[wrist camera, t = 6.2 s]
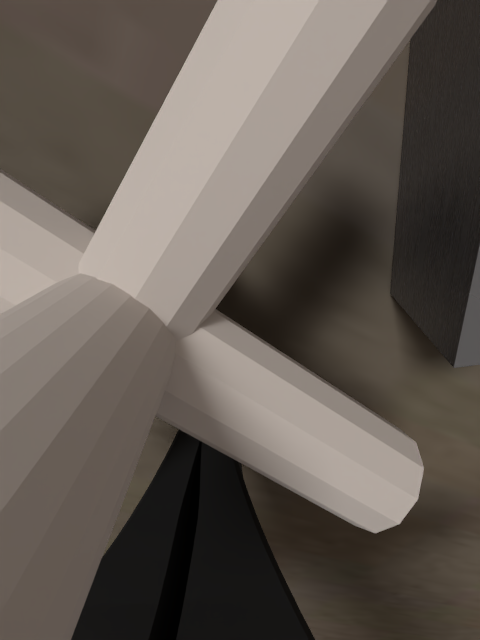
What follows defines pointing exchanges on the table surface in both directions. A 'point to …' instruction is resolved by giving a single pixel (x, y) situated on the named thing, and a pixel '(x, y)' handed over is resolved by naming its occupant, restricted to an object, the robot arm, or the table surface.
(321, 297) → the table surface
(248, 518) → the robot arm
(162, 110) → the pipe connector
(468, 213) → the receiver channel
